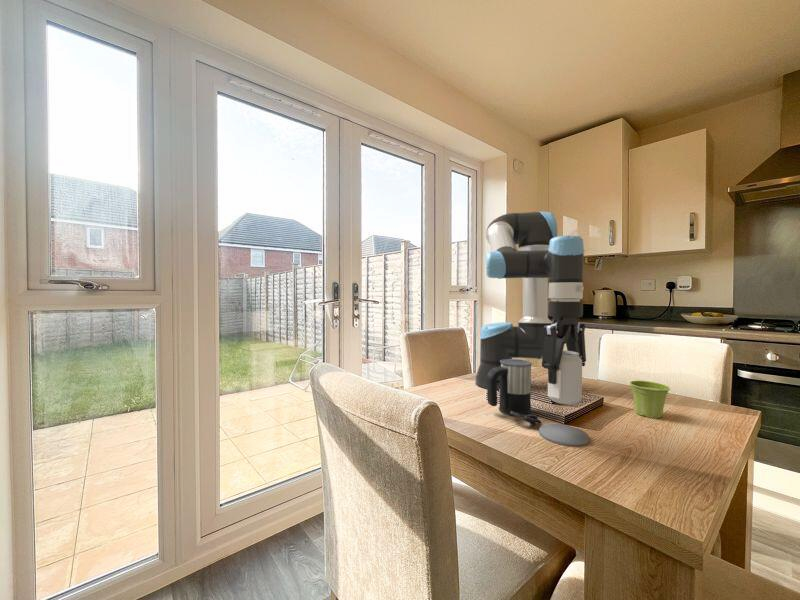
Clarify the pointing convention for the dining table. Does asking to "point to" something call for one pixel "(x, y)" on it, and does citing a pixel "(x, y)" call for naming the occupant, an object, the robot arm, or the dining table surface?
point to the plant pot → (649, 398)
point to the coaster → (564, 435)
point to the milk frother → (512, 389)
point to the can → (570, 378)
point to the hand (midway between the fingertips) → (564, 393)
